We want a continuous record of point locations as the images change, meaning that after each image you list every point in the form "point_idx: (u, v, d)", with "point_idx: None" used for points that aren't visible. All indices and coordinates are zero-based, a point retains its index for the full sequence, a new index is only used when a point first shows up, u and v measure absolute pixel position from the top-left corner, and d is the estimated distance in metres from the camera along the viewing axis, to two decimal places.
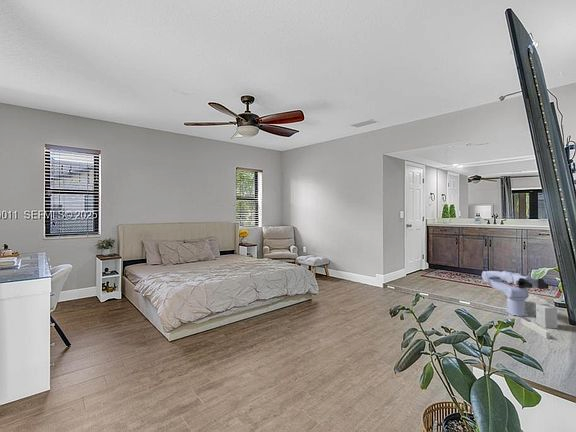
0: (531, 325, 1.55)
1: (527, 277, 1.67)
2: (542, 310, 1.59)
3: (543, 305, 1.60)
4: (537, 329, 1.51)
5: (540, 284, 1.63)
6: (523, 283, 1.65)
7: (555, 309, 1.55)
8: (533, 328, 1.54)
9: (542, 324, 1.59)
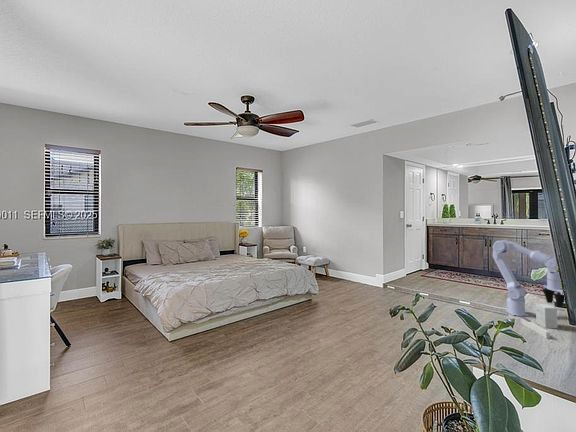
0: (531, 325, 1.55)
1: None
2: (541, 310, 1.59)
3: (543, 305, 1.60)
4: (537, 329, 1.51)
5: (549, 293, 1.68)
6: (560, 296, 1.60)
7: (555, 309, 1.55)
8: (533, 328, 1.54)
9: (542, 324, 1.59)
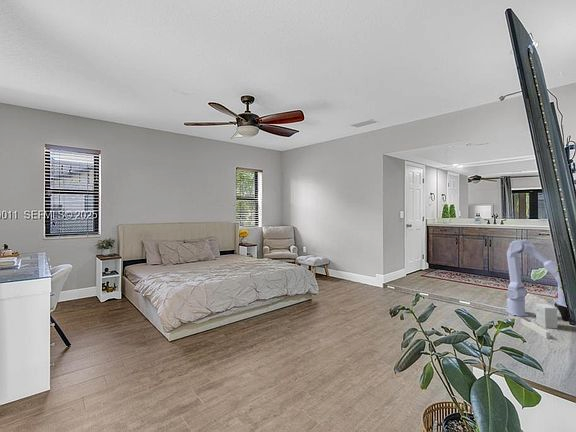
0: (531, 325, 1.55)
1: None
2: (542, 310, 1.59)
3: (543, 305, 1.60)
4: (537, 329, 1.51)
5: None
6: (567, 310, 1.57)
7: (555, 309, 1.55)
8: (533, 328, 1.54)
9: (542, 324, 1.59)
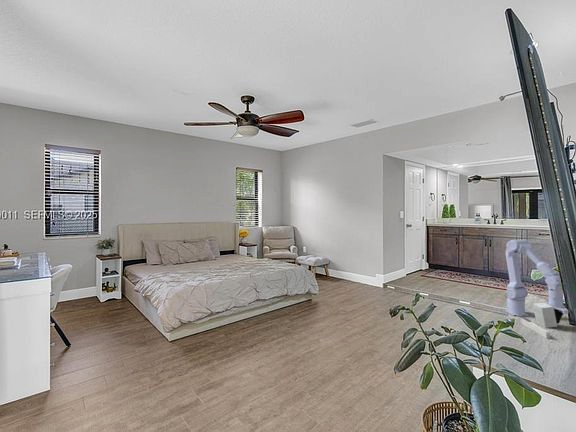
0: (531, 325, 1.55)
1: None
2: (539, 310, 1.59)
3: (540, 305, 1.61)
4: (537, 329, 1.51)
5: None
6: (557, 312, 1.58)
7: (552, 308, 1.56)
8: (533, 328, 1.54)
9: (542, 324, 1.59)
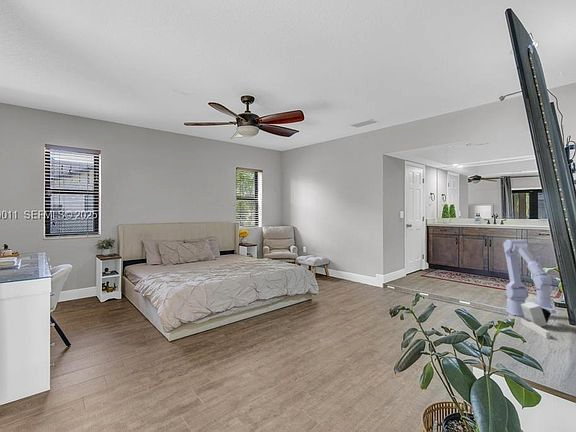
0: (531, 325, 1.55)
1: None
2: (527, 310, 1.60)
3: (527, 305, 1.61)
4: (537, 329, 1.51)
5: None
6: (545, 312, 1.59)
7: (539, 307, 1.57)
8: (533, 328, 1.54)
9: None
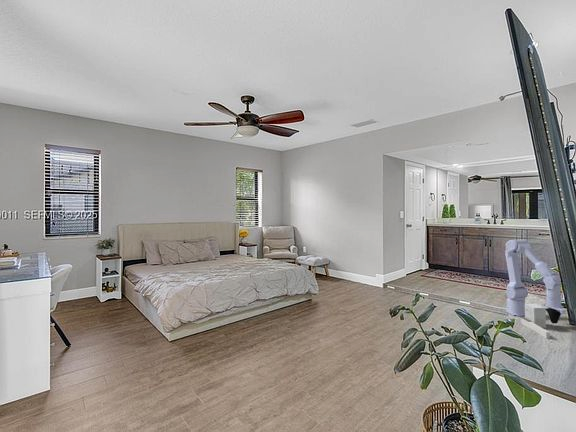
0: (531, 325, 1.55)
1: None
2: (531, 309, 1.59)
3: (532, 305, 1.61)
4: (537, 329, 1.51)
5: None
6: (555, 312, 1.58)
7: (544, 309, 1.56)
8: (533, 328, 1.54)
9: None
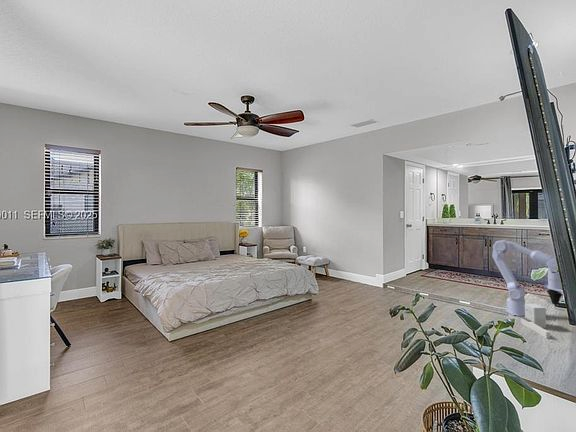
0: (531, 325, 1.55)
1: None
2: (531, 309, 1.59)
3: (532, 305, 1.61)
4: (537, 329, 1.51)
5: None
6: (556, 294, 1.64)
7: (544, 309, 1.56)
8: (533, 328, 1.54)
9: None
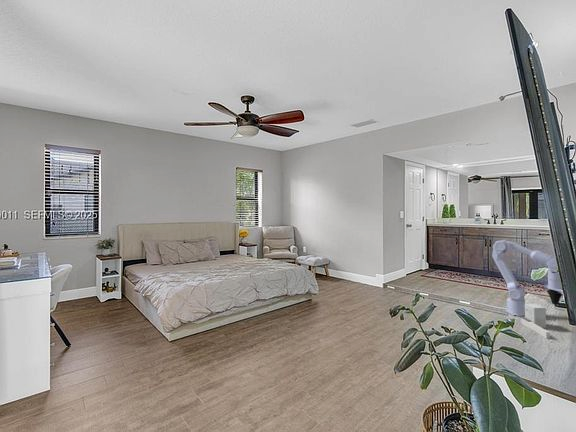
0: (531, 325, 1.55)
1: None
2: (531, 309, 1.59)
3: (532, 305, 1.61)
4: (537, 329, 1.51)
5: None
6: (556, 294, 1.64)
7: (544, 309, 1.56)
8: (533, 328, 1.54)
9: None
